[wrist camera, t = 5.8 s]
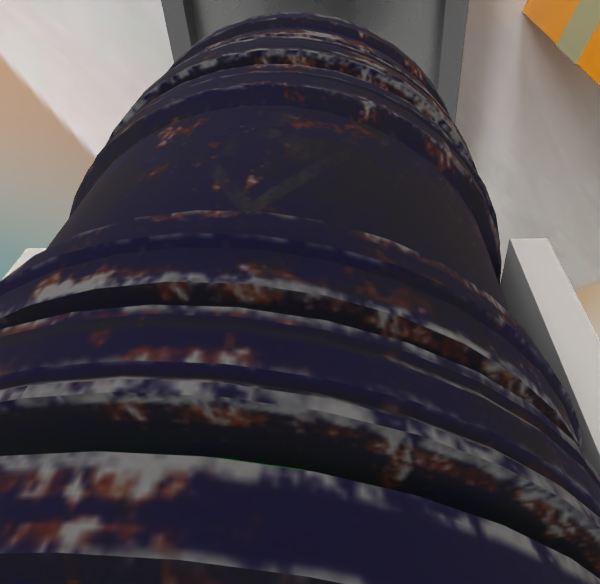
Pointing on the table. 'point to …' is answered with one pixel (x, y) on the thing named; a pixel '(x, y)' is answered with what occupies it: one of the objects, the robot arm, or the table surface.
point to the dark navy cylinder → (284, 344)
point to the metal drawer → (353, 8)
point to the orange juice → (571, 29)
